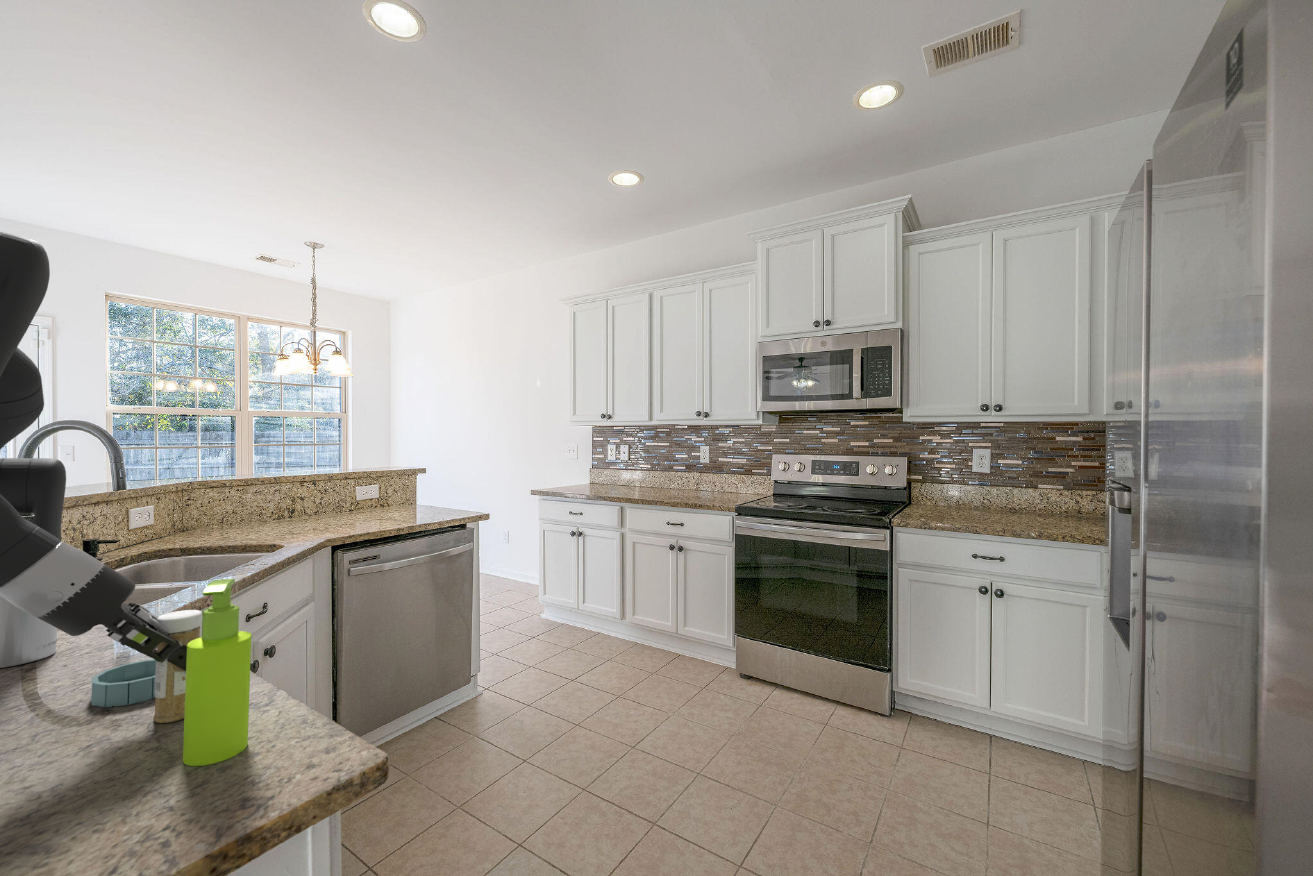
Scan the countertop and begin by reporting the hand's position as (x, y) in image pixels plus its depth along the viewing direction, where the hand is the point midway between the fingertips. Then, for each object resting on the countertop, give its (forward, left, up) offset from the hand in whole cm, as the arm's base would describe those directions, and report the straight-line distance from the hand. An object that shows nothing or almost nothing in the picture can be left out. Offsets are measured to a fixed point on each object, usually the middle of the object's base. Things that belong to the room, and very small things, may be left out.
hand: (196, 661), depth 72 cm
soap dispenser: (+7, -13, -7) cm, 16 cm away
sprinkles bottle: (-2, -1, -7) cm, 7 cm away
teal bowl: (-11, +9, -7) cm, 15 cm away
